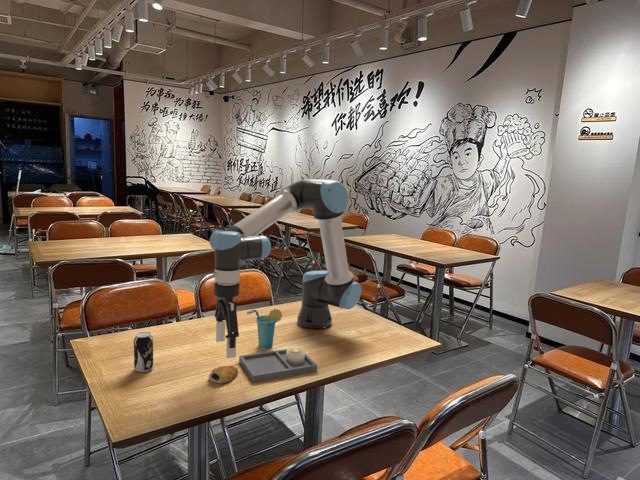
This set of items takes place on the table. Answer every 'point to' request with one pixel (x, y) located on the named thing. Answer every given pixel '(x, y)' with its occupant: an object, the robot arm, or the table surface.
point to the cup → (266, 327)
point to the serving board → (277, 364)
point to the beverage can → (143, 352)
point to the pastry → (223, 374)
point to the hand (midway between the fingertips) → (225, 349)
